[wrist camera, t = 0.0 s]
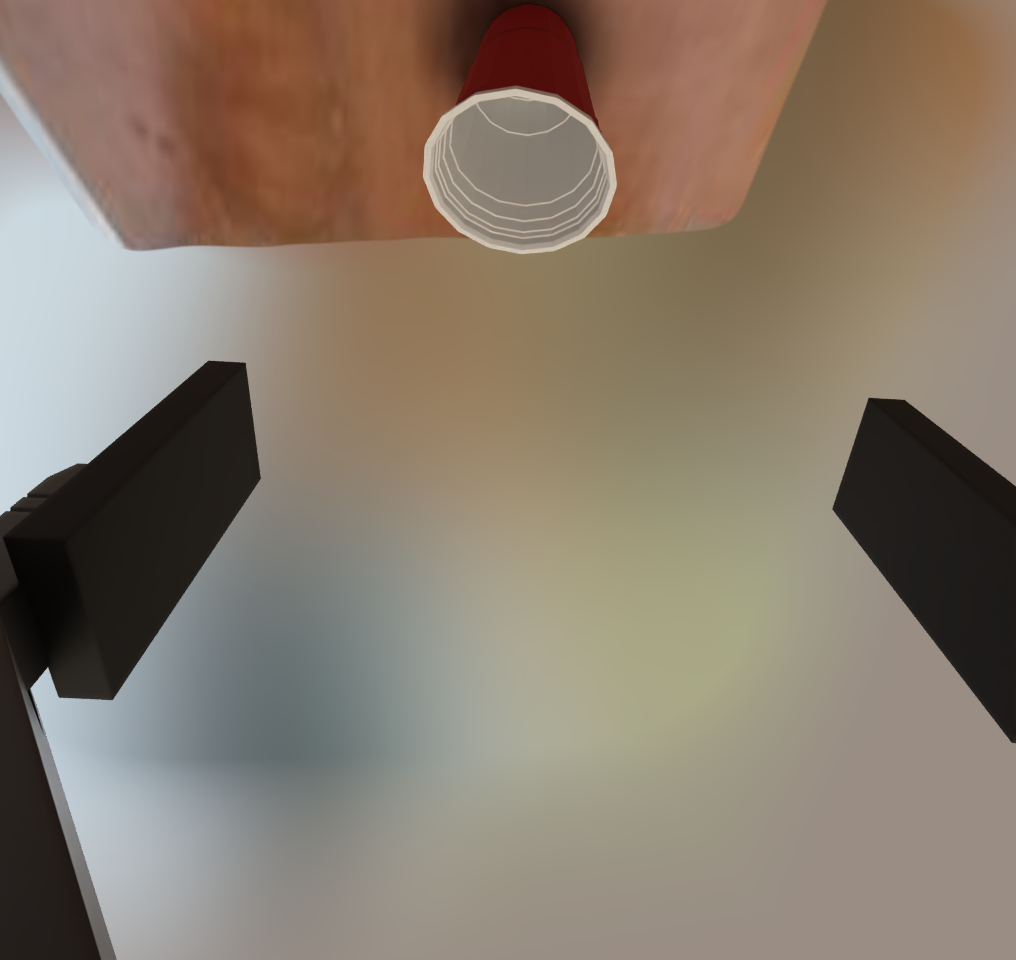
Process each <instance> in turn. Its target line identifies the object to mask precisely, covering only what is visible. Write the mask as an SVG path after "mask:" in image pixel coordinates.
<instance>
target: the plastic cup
mask: <svg viewBox="0 0 1016 960" xmlns="http://www.w3.org/2000/svg"><path fill="white" fill-rule="evenodd" d="M423 178H424V181H425V183H426V186H427V188H428V190H429V193H430V195H431V198H432V200H433V203H434V205H435V207H436V209H437V210H438V211H439V212H440V213H441V214H442V215H443V216H444V217H445V218H446V219H447V220H448V221H449V222H450V223H451V224H452V225H453V226H454V227H455V229H456V230H457V231H458V232H460V233H462V234H464V235H466V236H468V237H470V238H471V239H473V240H475V241H477V242H479V243H481V244H483V245H485V246H487V247H489V248H494V249H498V250H504V251H509V252H513V253H518V254H528V253H539V252H548V251H556V250H558V249H560V248H562V247H565V246H567V245H569V244H571V243H574V242H576V241H578V240H581V239H583V238H585V237H586V236H587V235H588V234H589V233H590V232H591V231H592V229H593V228H594V227H595V226H596V225H597V224H598V223H599V222H600V221H601V220H602V219H603V218H604V217H605V216H606V215H607V212H608V209H609V207H610V204H611V201H612V198H613V195H614V193H615V190H616V187H617V183H616V175H615V167H614V159H613V152H612V149H611V147H610V145H609V144H608V142H607V141H606V139H605V138H604V136H603V135H602V132H601V130H600V129H599V125H598V120H597V118H596V117H595V114H594V110H593V106H592V102H591V98H590V93H589V89H588V85H587V81H586V77H585V73H584V69H583V65H582V62H581V61H580V59H579V56H578V52H577V48H576V44H575V40H574V37H573V35H572V34H571V32H570V30H569V29H568V27H567V26H566V24H565V22H564V21H563V19H562V18H561V17H560V16H559V15H557V14H556V13H554V12H553V11H551V10H550V9H548V8H547V7H543V6H538V5H533V4H524V5H519V6H515V7H511V8H509V9H507V10H506V11H504V12H503V13H502V14H500V15H499V16H498V17H496V18H495V19H494V21H493V22H492V23H491V25H490V27H489V29H488V30H487V32H486V34H485V35H484V37H483V39H482V41H481V44H480V47H479V50H478V53H477V56H476V58H475V60H474V62H473V63H472V65H471V67H470V70H469V73H468V75H467V78H466V80H465V83H464V85H463V88H462V90H461V93H460V95H459V98H458V101H457V103H456V106H454V107H453V108H451V109H450V110H448V111H447V112H445V113H444V114H443V116H442V117H441V119H440V121H439V122H438V124H437V126H436V127H435V129H434V131H433V132H432V134H431V136H430V137H429V139H428V141H427V143H426V144H425V152H424V172H423Z"/></svg>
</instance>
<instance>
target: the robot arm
mask: <svg viewBox="0 0 1016 960" xmlns="http://www.w3.org/2000/svg"><path fill="white" fill-rule="evenodd" d="M260 479H261V477H260V469H259V462H258V454H257V446H256V439H255V431H254V423H253V416H252V408H251V401H250V393H249V386H248V378H247V370H246V363H240V362H223V361H208V362H207V363H205V364H204V365H203V366H202V367H201V368H200V369H198V370H197V371H196V372H195V373H194V374H192V375H191V376H190V377H189V378H188V379H187V380H185V381H184V382H183V383H182V384H181V385H180V386H179V387H177V388H176V389H175V390H174V391H173V392H171V393H170V394H169V395H168V396H167V397H166V398H164V399H163V400H162V401H161V402H160V403H159V404H157V405H156V406H155V407H154V408H153V409H152V410H151V411H149V412H148V413H147V414H146V415H145V416H143V417H142V418H141V419H140V420H139V421H138V422H136V423H135V424H134V425H133V426H132V427H131V428H129V429H128V430H127V431H126V432H125V433H123V434H122V435H121V436H120V437H119V438H118V439H116V440H115V441H114V442H113V443H112V444H111V445H109V446H108V447H107V448H106V449H105V450H104V451H103V452H101V453H100V454H99V455H98V456H97V457H95V458H94V459H93V460H92V461H91V462H90V463H88V464H76V465H74V466H71V467H69V468H67V469H65V470H63V471H61V472H58V473H56V474H54V475H52V476H50V477H48V478H46V479H45V480H44V481H43V482H41V483H40V484H39V485H38V486H37V487H35V488H34V489H33V490H32V491H31V492H29V493H28V494H27V495H28V496H27V497H23V498H22V499H21V500H19V501H18V502H17V503H16V504H14V505H13V506H12V507H11V510H10V511H6V512H5V513H3V514H2V515H1V516H0V960H116V956H115V953H114V950H113V947H112V943H111V940H110V937H109V934H108V931H107V928H106V925H105V921H104V918H103V915H102V912H101V908H100V905H99V902H98V899H97V896H96V893H95V889H94V886H93V883H92V880H91V877H90V874H89V870H88V867H87V864H86V861H85V858H84V854H83V851H82V849H81V845H80V842H79V839H78V835H77V832H76V829H75V826H74V823H73V820H72V816H71V813H70V810H69V807H68V804H67V800H66V797H65V794H64V791H63V788H62V784H61V782H60V778H59V775H58V772H57V768H56V765H55V762H54V759H53V756H52V753H51V749H50V746H49V743H48V740H47V737H46V733H45V730H44V728H43V724H42V721H41V718H40V714H39V711H38V708H37V705H36V702H35V700H34V697H33V695H32V692H31V689H30V688H31V687H32V686H33V684H34V683H35V682H36V681H37V680H38V678H39V677H40V676H41V675H42V674H43V672H44V671H45V670H46V669H47V667H48V668H49V671H50V674H51V677H52V680H53V682H54V685H55V688H56V691H57V694H58V696H59V697H60V698H82V699H102V700H113V699H114V697H115V696H116V694H117V693H118V691H119V690H120V688H121V687H122V685H123V684H124V682H125V681H126V679H127V678H128V676H129V675H130V673H131V672H132V670H133V668H134V667H135V666H136V664H137V663H138V661H139V660H140V658H141V657H142V655H143V654H144V652H145V651H146V649H147V648H148V646H149V645H150V643H151V642H152V640H153V639H154V637H155V636H156V634H157V633H158V631H159V630H160V628H161V627H162V625H163V624H164V622H165V621H166V619H167V618H168V616H169V615H170V614H171V612H172V611H173V609H174V607H175V606H176V604H177V603H178V602H179V600H180V599H181V597H182V595H183V594H184V593H185V591H186V589H187V588H188V587H189V585H190V584H191V582H192V581H193V579H194V577H195V576H196V575H197V573H198V572H199V570H200V569H201V567H202V566H203V564H204V563H205V561H206V560H207V558H208V557H209V555H210V554H211V552H212V551H213V549H214V548H215V546H216V545H217V543H218V542H219V540H220V539H221V537H222V536H223V534H224V533H225V531H226V530H227V528H228V527H229V525H230V524H231V522H232V521H233V519H234V518H235V516H236V515H237V513H238V512H239V510H240V509H241V507H242V506H243V505H244V503H245V502H246V500H247V499H248V497H249V496H250V494H251V493H252V491H253V490H254V488H255V486H256V485H257V483H258V482H259V480H260ZM833 511H834V512H835V513H836V515H837V516H838V517H839V519H840V520H841V521H842V522H843V524H844V525H845V526H846V528H847V529H848V530H849V532H850V533H851V534H852V535H853V537H854V538H855V539H856V541H857V542H858V543H859V545H860V546H861V547H862V548H863V550H864V551H865V552H866V554H867V555H868V556H869V558H870V559H871V560H872V561H873V563H874V564H875V565H876V567H877V568H878V569H879V571H880V572H881V573H882V574H883V576H884V577H885V578H886V580H887V581H888V582H889V584H890V585H891V586H892V587H893V589H894V590H895V591H896V593H897V594H898V595H899V597H900V598H901V599H902V600H903V602H904V603H905V604H906V606H907V607H908V608H909V610H910V611H911V612H912V613H913V615H914V616H915V617H916V619H917V620H918V621H919V622H920V624H921V625H922V626H923V628H924V629H925V630H926V632H927V633H928V634H929V636H930V637H931V638H932V639H933V641H934V642H935V643H936V645H937V646H938V647H939V649H940V650H941V651H942V652H943V654H944V655H945V656H946V658H947V659H948V660H949V661H950V663H951V664H952V666H953V667H954V668H955V669H956V671H957V672H958V673H959V674H960V676H961V677H962V678H963V680H964V681H965V682H966V684H967V685H968V686H969V688H970V689H971V690H972V692H973V693H974V694H975V695H976V696H977V698H978V699H979V701H980V702H981V703H982V705H983V706H984V707H985V708H986V710H987V711H988V712H989V714H990V715H991V716H992V717H993V719H994V720H995V721H996V723H997V724H998V725H999V727H1000V728H1001V729H1002V730H1003V732H1004V733H1005V734H1006V736H1007V737H1008V738H1009V739H1010V741H1011V742H1012V743H1016V486H1014V485H1013V484H1012V483H1011V482H1009V481H1008V480H1007V479H1006V478H1004V477H1003V476H1002V475H1000V474H999V473H997V471H995V470H994V469H993V468H991V467H990V466H989V465H988V464H986V463H985V462H984V461H982V460H981V459H980V458H979V457H977V456H976V455H975V454H973V453H972V452H971V451H970V450H968V449H967V448H966V447H964V446H963V445H962V444H961V443H959V442H958V441H957V440H955V439H954V438H953V437H952V436H950V435H949V434H947V433H946V432H945V431H944V430H942V429H941V428H940V427H939V426H937V425H936V424H934V422H932V421H931V420H930V419H928V418H927V417H926V416H925V415H923V414H922V413H921V412H919V411H918V410H917V409H915V408H914V407H913V406H912V405H910V404H909V403H908V402H906V401H905V400H897V399H878V398H869V399H868V402H867V405H866V408H865V411H864V414H863V417H862V420H861V423H860V426H859V429H858V433H857V435H856V438H855V442H854V445H853V448H852V451H851V454H850V457H849V460H848V463H847V466H846V469H845V472H844V475H843V478H842V481H841V484H840V487H839V491H838V494H837V497H836V500H835V503H834V506H833Z"/></svg>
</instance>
